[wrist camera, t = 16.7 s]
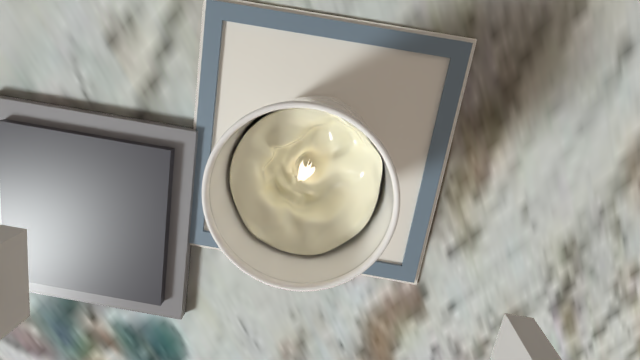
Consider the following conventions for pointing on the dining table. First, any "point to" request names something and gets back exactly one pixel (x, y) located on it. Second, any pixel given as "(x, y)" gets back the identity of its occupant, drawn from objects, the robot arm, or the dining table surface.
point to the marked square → (341, 83)
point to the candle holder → (301, 194)
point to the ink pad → (99, 204)
